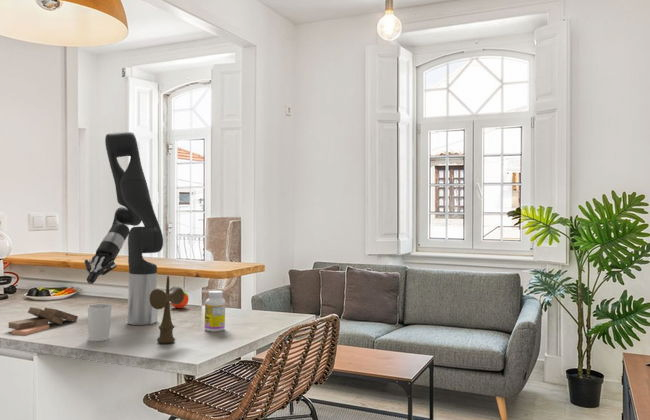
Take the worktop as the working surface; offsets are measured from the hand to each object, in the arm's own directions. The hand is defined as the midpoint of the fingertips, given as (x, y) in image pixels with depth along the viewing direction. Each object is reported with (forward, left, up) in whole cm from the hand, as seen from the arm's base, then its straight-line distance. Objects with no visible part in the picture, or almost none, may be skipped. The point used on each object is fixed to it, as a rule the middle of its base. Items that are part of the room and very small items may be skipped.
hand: (89, 282), depth 199 cm
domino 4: (+1, +10, -11) cm, 15 cm away
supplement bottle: (-50, +15, -12) cm, 54 cm away
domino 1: (+5, +21, -10) cm, 24 cm away
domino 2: (+5, +22, -12) cm, 26 cm away
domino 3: (+3, +16, -11) cm, 19 cm away
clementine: (-28, -19, -12) cm, 36 cm away
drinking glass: (-19, +33, -12) cm, 40 cm away
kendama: (-40, +34, -12) cm, 54 cm away
